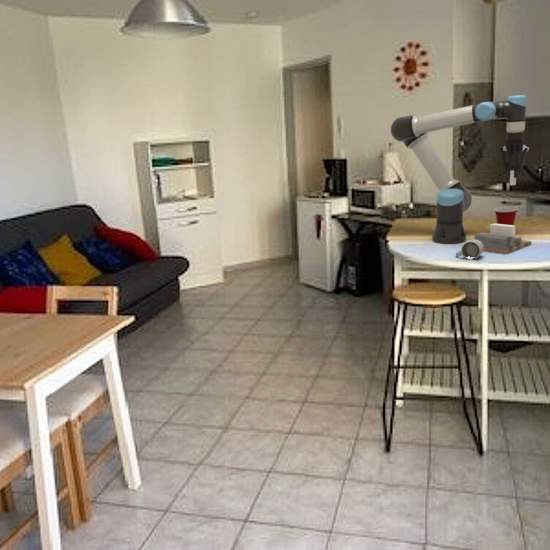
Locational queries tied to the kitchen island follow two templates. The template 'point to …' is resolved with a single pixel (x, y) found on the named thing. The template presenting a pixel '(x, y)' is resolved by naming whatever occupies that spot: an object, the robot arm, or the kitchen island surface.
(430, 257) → the kitchen island surface
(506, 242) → the housing
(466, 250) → the ceramic mug
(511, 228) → the cream rectangular block
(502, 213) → the plastic cup
